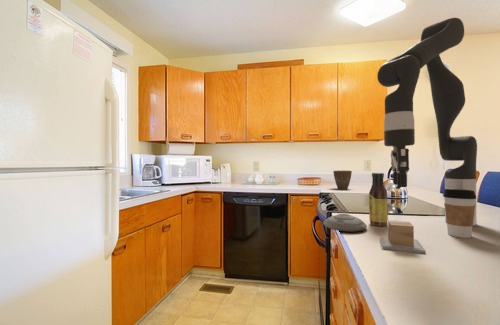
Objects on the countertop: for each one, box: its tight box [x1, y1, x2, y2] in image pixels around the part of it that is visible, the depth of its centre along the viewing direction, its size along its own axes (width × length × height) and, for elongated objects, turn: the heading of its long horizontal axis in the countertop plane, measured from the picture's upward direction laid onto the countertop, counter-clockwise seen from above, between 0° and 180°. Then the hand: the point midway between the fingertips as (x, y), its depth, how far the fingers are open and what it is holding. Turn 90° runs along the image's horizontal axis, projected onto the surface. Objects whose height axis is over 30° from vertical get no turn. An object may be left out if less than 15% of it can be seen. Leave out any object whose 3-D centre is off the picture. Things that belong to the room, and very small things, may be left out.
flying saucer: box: [322, 213, 368, 233], centre depth 92 cm, size 15×15×6 cm
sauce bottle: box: [368, 172, 389, 227], centre depth 96 cm, size 7×6×20 cm
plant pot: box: [332, 170, 353, 191], centre depth 214 cm, size 15×15×16 cm
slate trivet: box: [379, 235, 426, 255], centre depth 72 cm, size 10×10×1 cm
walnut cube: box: [387, 219, 415, 246], centre depth 72 cm, size 6×6×6 cm
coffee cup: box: [442, 188, 477, 239], centre depth 81 cm, size 8×8×15 cm
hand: (399, 185), depth 72 cm, fingers open, 8 cm apart
